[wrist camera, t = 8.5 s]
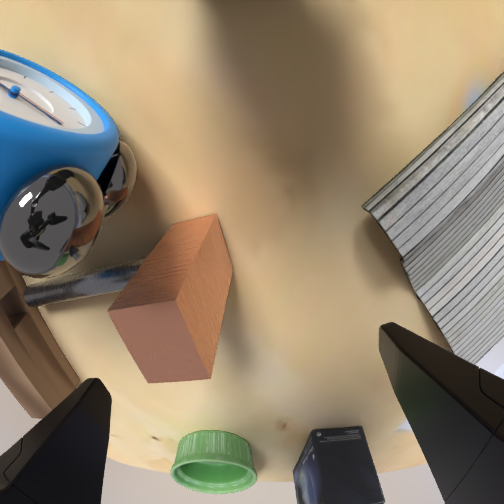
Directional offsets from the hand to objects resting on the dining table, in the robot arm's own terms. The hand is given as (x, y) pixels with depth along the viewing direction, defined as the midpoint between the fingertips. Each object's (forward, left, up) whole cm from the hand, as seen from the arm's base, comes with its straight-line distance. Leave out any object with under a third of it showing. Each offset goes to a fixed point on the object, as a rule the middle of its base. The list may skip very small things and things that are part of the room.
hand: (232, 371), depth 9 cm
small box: (-4, +29, -13) cm, 32 cm away
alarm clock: (+14, -16, -6) cm, 22 cm away
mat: (-24, +4, -14) cm, 28 cm away
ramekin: (+8, +24, -13) cm, 29 cm away
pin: (+9, +1, -13) cm, 16 cm away
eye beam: (+20, +1, -13) cm, 24 cm away
